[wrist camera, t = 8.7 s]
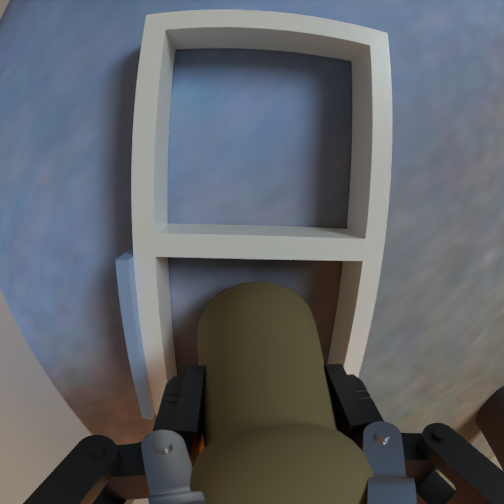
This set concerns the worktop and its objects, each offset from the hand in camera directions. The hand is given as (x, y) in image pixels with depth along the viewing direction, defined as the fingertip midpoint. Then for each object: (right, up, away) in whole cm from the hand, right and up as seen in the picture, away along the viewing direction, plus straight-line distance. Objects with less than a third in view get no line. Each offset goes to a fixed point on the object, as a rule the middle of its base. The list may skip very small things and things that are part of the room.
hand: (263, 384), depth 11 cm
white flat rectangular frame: (0, +6, +4) cm, 7 cm away
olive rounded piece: (0, +1, +4) cm, 4 cm away
